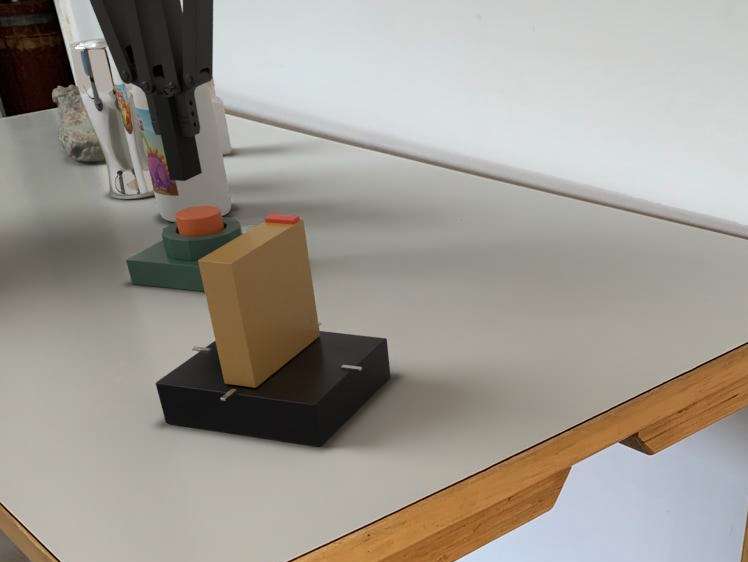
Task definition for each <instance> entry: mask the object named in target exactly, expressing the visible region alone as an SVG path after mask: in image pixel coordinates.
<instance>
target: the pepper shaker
mask: <svg viewBox="0 0 748 562" xmlns="http://www.w3.org/2000/svg"><path fill="white" fill-rule="evenodd" d="M206 83H207V86H208V89H209V92H210V97H211V101H212V106H213V110H214V115H215V120H216V125H217V130H218V135H219V140H220V145H221V150H222V156H225V155H228V154H231V153H232V144H231V139H230V132H229V127H228V122H227V117H226V111H225V106H224V102H223V100H222V99H221V97H219V96H217V94H216V89H215V86H216V85H215V80H214V76H212V80H211V81H209V82H206Z"/></svg>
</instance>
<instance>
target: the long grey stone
mask: <svg viewBox="0 0 748 562" xmlns="http://www.w3.org/2000/svg"><path fill="white" fill-rule="evenodd" d="M51 96H52V97H51V98H52V102H53V103H56V105H57V109H58V111H57V113H58V115H59V118H60V123H59V125H60V128H59V129H58V141H59V142H60V144H61V146H62V149H63V150H65V151H66V154H67V157H69V158H72V159H73V160H76V161H78V162H86V163H87V162H94V163H95V162H106V160H105V157H104V154H103V151H102V149H101V146H100V144H99V142H98V139H97V137H96V135H95V132H94V130H93V128H92V125H91V123H90V121H89V118H88V116H87V113H86V110H85V108H84V105H83V102H82V99H81V95H80V92H79V88H78V85H74V84H69V85H68V86H67V87H64V86H63V85H62V86H61V85H57V87H56V88H53V90H52V93H51Z"/></svg>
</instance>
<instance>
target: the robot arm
mask: <svg viewBox="0 0 748 562" xmlns="http://www.w3.org/2000/svg"><path fill="white" fill-rule="evenodd" d="M89 3H90V5H91V8H92V11H93V13H94V15H95V18H96V20H97V23H98V26H99V28H100V30H101V34H102V35H103V38H105V40H106V43H107V45H108V48H109V50H110V53H111V55H112V58H113V60H114V63H115V65H116V68H117V70H118V73H119V75H120V78H121V80H122V81H123V82H124V83H126V84H130V83H131V84H133V85H136V86H138V87H139V88H141V89H142V91H143V92H144V93H145V95H146V99H147V104H148V108H149V113H150V118H151V123H152V127H153V130H154V132H155V134H156V135H161V139H162V143H163V148H164V153H165V158H166V163H167V167H168V172H169V177H170V180H177V181H186V180H188V179H190V178H192V177H195V176H197V175H199V174H201V173H202V171H201V165H200V160H199V155H198V149H197V144H196V139H195V135H197V134H199V133H200V123H199V118H198V112H197V107H196V101H195V96H194V92H195V89H196V88H197V87H198V86H200V85H202V84H204V83H206V82H209V81H211V80H212V76H213V75H214V73H213V72H214V71H213V70H214V69H213V67H214V65H213V64H214V63H213V62H214V0H182V2H181V0H89ZM213 77H214V76H213Z"/></svg>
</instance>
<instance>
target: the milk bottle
mask: <svg viewBox="0 0 748 562" xmlns="http://www.w3.org/2000/svg"><path fill="white" fill-rule="evenodd" d="M132 90H133V99H134V104H135V110H136V115H137V120H138V124H139V129H140V133H141V137H142V142H143V146H144V151H145V155H146V159H147V164H148V168H149V172H150V176H151V181H152V185H153V189H154V193H155V195H154V198H155V202H156V206H157V209H158V213H159V215H160V217H161V218H162V219H163V220H165V221H168V222H172V223H176V222H177V221H176V217H175V214H176V213H177V212H178V211H180V210H183V209H186V208H190V207H196V206H213V207H217V208H219V209H220V210H221V215H222V217H224V216H225V215H227V214H229V212H230V211H231V210H232V200H231V194H230V188H229V182H228V177H227V171H226V166H225V161H224V157H223V156H224V155H222V150H221V145H220V140H219V135H218V130H217V125H216V120H215V115H214V110H213V106H212V101H211V97H210V92H209V89H208V86H207V83H204V84H202V85H200V86H198V87H197V88H196V89H195V92H194V96H195V101H196V107H197V112H198V118H199V123H200V133H199V134H197V135H195V139H196V144H197V149H198V155H199V160H200V165H201V171H202V173H201V174H199V175H197V176H195V177H192V178H190V179H188V180H186V181H177V180H170V177H169V172H168V167H167V163H166V158H165V153H164V148H163V143H162V139H161V135H156V134H155V132H154V130H153V127H152V123H151V118H150V113H149V108H148V104H147V99H146V95H145V93H144V92H143V91H142V89H141V88H139V87H138V86H136V85H133V84H132Z"/></svg>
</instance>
